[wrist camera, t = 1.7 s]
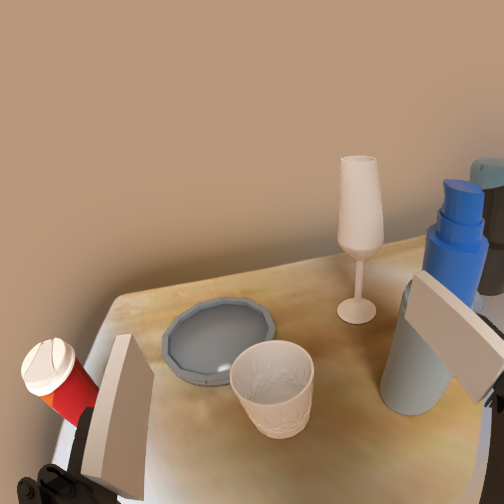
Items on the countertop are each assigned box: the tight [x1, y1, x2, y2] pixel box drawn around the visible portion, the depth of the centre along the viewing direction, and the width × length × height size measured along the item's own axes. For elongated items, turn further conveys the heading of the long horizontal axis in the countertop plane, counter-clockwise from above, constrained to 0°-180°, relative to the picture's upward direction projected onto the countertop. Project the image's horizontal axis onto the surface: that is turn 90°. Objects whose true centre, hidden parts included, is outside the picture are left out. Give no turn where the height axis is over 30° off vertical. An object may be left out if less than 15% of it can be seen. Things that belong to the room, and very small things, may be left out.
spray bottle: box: [380, 179, 489, 416], centre depth 21 cm, size 9×9×25 cm
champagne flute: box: [337, 156, 384, 324], centre depth 36 cm, size 7×7×24 cm
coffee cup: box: [21, 338, 99, 427], centre depth 24 cm, size 8×8×15 cm
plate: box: [162, 297, 276, 387], centre depth 41 cm, size 18×18×2 cm
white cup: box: [230, 340, 314, 439], centre depth 26 cm, size 8×8×10 cm
